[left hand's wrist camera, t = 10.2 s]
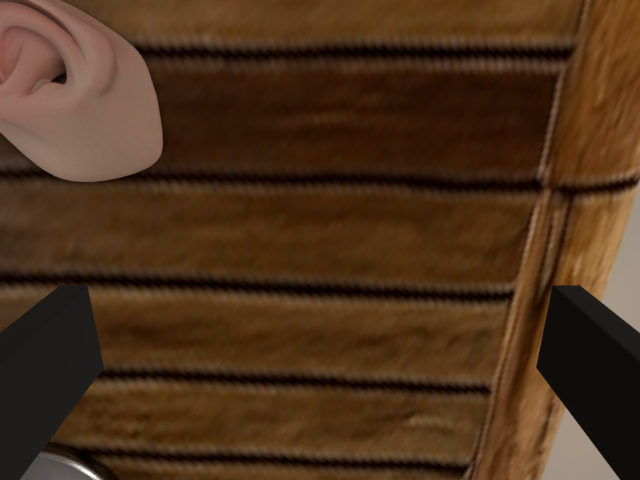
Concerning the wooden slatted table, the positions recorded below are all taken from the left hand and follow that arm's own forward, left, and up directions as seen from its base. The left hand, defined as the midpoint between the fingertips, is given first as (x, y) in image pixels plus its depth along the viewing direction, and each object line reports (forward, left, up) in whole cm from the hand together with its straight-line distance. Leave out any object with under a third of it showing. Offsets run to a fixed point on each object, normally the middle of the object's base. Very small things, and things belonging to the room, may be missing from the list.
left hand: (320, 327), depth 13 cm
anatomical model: (-17, +6, -19) cm, 26 cm away
